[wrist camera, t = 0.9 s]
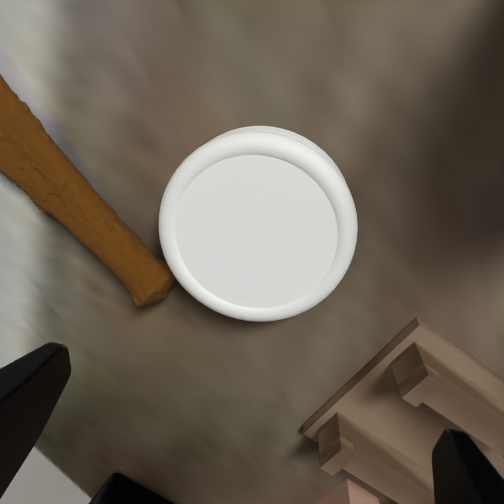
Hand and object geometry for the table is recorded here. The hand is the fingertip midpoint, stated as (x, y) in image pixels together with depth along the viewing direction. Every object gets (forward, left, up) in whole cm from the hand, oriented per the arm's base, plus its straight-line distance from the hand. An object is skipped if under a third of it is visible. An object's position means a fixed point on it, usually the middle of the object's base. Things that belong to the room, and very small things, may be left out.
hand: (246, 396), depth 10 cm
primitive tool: (-6, +12, -15) cm, 20 cm away
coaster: (-1, +1, -15) cm, 15 cm away
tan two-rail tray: (-6, -15, -14) cm, 22 cm away
